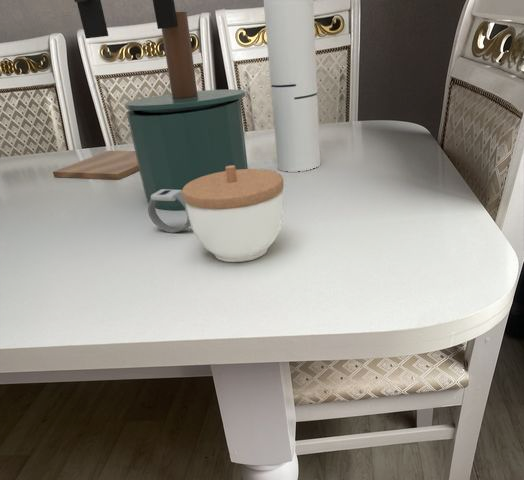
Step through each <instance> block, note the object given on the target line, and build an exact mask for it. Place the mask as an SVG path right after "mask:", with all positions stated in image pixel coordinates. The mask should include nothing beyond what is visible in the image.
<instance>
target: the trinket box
mask: <svg viewBox="0 0 524 480" xmlns="http://www.w3.org/2000/svg"><path fill="white" fill-rule="evenodd" d="M225 169H226V171H223V172H218V173H213V174H209V175H206V176H202V177H200V178H197V179H195V180H193V181H191V182H189V183H188V184H186V185H185V186H184V188H183V189H182V195H183V199H184V201H185V204H186V210H187V213H186V215H187V214H188V218H189V221H190V224H191V225H190V227H191V229H192V231H193V234H194V236H195V238H196V239H197V241H198V243H200V245H202V247H203V248H204V249H206V250H207V251H208V252H209V253H211V254H213V255H214V257H215V258H216V259H217V260H218V261H221V262H225V263H226V262H227V263H243V262H249V261H254V260H256V259H259V258H261V257H263V256H264V255H265V254H267V253H268V251H269V248H270V246H271V245H272V244H273V243H274V242H275V241H276V239H277V237H278V235H279V233H280V231H281V228H282V225H283V218H284V209H285V203H284V178H283V176H282V175H281V174H280V173H279V172H277V171H273V170H268V169H261V168H260V169H259V168H248V169H239V170H236V169H235V166H233V165H231V166H226V167H225ZM186 210H185V211H186Z"/></svg>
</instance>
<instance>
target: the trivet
mask: <svg viewBox="0 0 524 480" xmlns="http://www.w3.org/2000/svg"><path fill="white" fill-rule="evenodd" d="M137 172H140V170H139V166H138V162H137V157H136V153H135V150H106V151H103V152H101V153H99V154H96V155H93V156H91V157H88V158H85V159H83V160H80V161H77V162H75V163H72V164H69V165H67V166H64V167H62V168H59V169H56V170H53V171H52V174H53V177H54V178H66V177H76V178H75V179H93V180H94V179H95V180H97V179H98V180H116V181H117V180H121V179H123V178H126V177H129V176H130V175H132V174H134V173H137Z"/></svg>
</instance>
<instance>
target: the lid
mask: <svg viewBox="0 0 524 480" xmlns="http://www.w3.org/2000/svg"><path fill="white" fill-rule="evenodd" d="M176 17H177V23H178V27H171V28H162V29H161V35H162V42H163V47H164V53H165V61H166V67H167V74H168V79H169V86H170V91H171V93H168V94H167V93H166V94H161V95H160V94H159V95H154V96H153V95H152V96H147V97H143V98H136V99H133V100H129V101H127V102H125V103H124V107H125V110H128V111H130V110H139V111H141V112H144V113H170V112H182V111H192V110H199V109H206V108H212V107H216V106H220V105H223V104H226V103H228V102H231V101H233V100H237V99H240V100H241V99H243V98H244V97H246V91H245V90H243V89H234V88H233V89H209V90H208V89H207V90H206V89H205V90H198V86H197V79H196V72H195V71H196V70H195V65H194V56H193V49H192V43H191V42H192V41H191V34H190V26H189V20H188V19H189V18H188V12H187V11H176Z"/></svg>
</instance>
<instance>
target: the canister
mask: <svg viewBox="0 0 524 480" xmlns="http://www.w3.org/2000/svg"><path fill="white" fill-rule="evenodd" d="M126 116H127V122H128V125H129V130H130V134H131V139H132V142H133V148H134V151H135V153H136V157H137V162H138V166H139V174H140V178H141V184H142V187H143V192H144V197H145V199H146V203H147V204H148V205H149V201H150V199H151V195H152V194H154V193H156V192H158V191H159V190H161V189H169V190H182V189H183V188H184V186H185V185H186V184H188V183H189V182H191V181H193V180H195V179H197V178H200V177H202V176H206V175H209V174H213V173H218V172H223V171H226V169H225V167H226V166H231V165H233V166H235V169H236V170H239V169H249V166H248V165H249V164H248V158H247V149H246V148H247V147H246V138H245V131H244V122H243V114H242V105H241V98H240V99H237V100H233V101H231V102H228V103H226V104H223V105H220V106H216V107H212V108H206V109H199V110H192V111H182V112H170V113H144V112H141V111H139V110H128V111H126ZM155 209H160V210H166V211H186V210H185V208H184V206H183V205H182V204H181V202H180V201H179V200H177V199H176V200H175V201H159V200H156V203H155Z"/></svg>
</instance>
